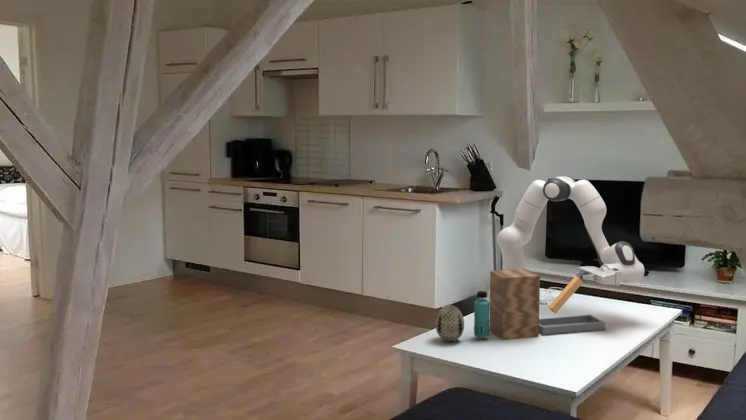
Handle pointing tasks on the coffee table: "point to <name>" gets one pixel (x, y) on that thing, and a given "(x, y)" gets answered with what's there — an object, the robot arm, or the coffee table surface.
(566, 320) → the tray
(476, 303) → the beverage bottle
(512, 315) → the stand
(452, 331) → the decorative egg
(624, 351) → the coffee table surface
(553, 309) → the marker
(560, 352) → the coffee table surface
